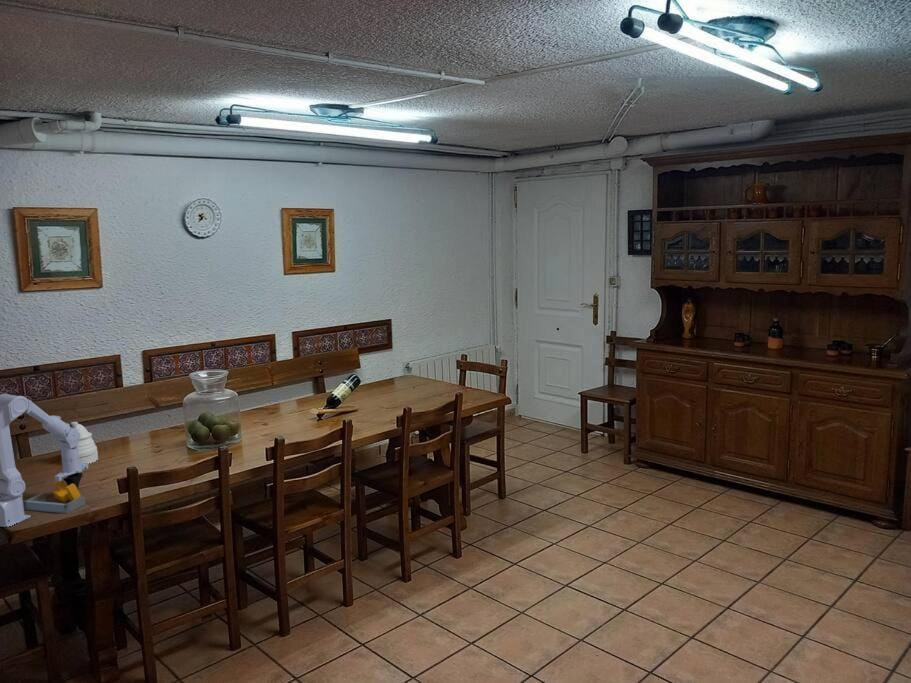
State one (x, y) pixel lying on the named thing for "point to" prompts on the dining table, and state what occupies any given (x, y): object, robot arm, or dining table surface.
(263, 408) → the dining table surface
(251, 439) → the dining table surface
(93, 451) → the honey pot
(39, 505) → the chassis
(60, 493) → the pipe clamp
